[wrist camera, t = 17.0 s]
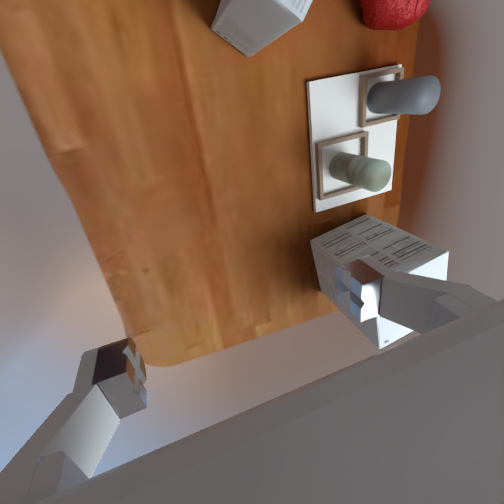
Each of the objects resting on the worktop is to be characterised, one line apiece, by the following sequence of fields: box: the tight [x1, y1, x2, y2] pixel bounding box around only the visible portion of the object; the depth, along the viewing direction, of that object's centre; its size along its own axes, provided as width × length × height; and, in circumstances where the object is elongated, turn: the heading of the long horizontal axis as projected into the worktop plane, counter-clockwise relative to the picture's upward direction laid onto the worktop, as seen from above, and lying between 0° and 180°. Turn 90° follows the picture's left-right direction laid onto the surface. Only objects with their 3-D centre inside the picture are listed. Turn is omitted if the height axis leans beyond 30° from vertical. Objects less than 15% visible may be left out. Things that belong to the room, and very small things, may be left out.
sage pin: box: [329, 152, 391, 192], centre depth 44 cm, size 4×4×9 cm
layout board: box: [306, 64, 441, 213], centre depth 43 cm, size 20×16×10 cm
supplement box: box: [310, 214, 449, 349], centre depth 50 cm, size 13×13×18 cm
